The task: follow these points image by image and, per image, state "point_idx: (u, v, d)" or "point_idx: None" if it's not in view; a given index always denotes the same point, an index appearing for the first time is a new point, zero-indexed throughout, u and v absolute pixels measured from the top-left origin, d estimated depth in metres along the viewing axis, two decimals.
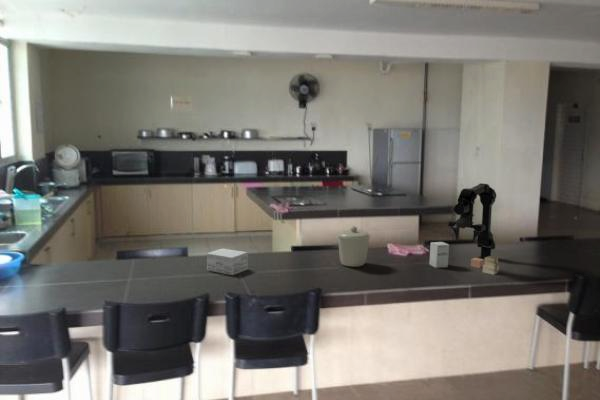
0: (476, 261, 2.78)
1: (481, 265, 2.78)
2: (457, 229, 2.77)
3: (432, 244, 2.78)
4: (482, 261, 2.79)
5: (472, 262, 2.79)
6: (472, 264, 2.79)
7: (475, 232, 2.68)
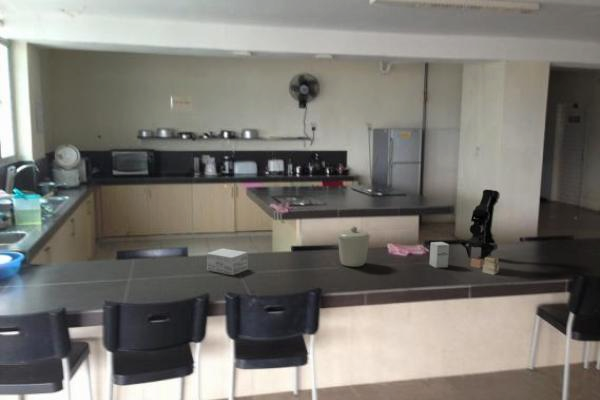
0: (476, 261, 2.78)
1: (481, 265, 2.78)
2: (469, 247, 2.82)
3: (432, 244, 2.78)
4: (482, 261, 2.79)
5: (472, 262, 2.79)
6: (472, 264, 2.79)
7: (487, 251, 2.73)
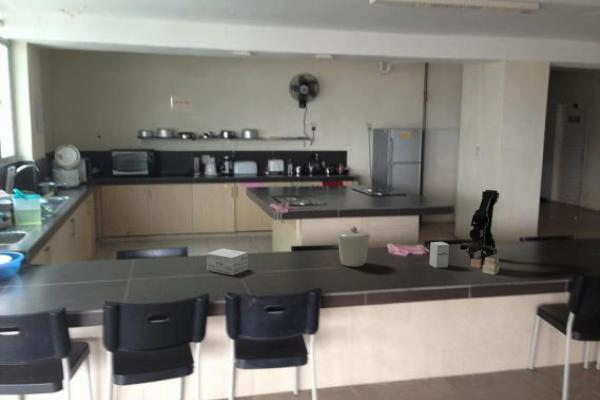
0: (476, 261, 2.78)
1: (481, 265, 2.78)
2: (472, 253, 2.81)
3: (432, 244, 2.78)
4: None
5: (472, 262, 2.79)
6: (472, 264, 2.79)
7: (483, 255, 2.75)
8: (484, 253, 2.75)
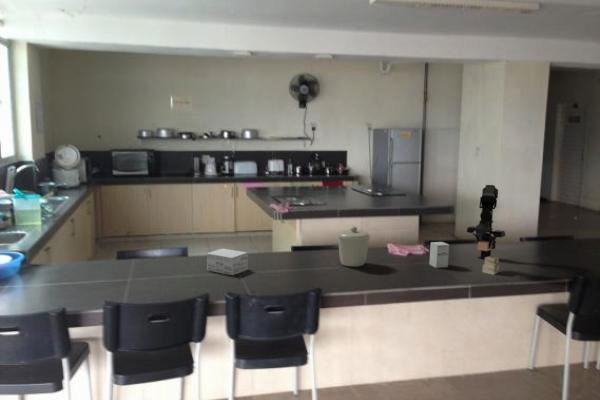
0: (483, 244, 2.70)
1: (488, 248, 2.71)
2: (479, 236, 2.74)
3: (432, 244, 2.78)
4: None
5: (479, 245, 2.72)
6: (479, 247, 2.72)
7: (491, 238, 2.67)
8: (492, 236, 2.68)
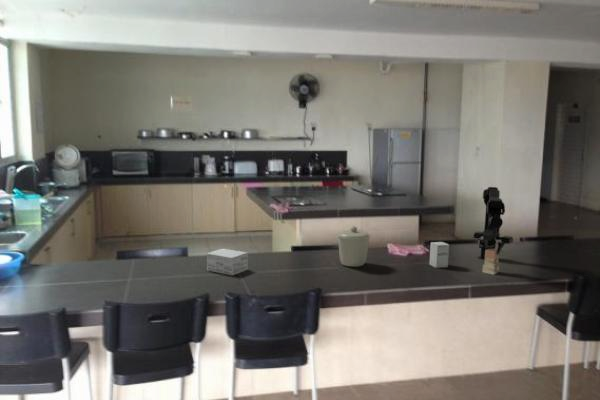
0: (490, 252, 2.65)
1: (496, 256, 2.66)
2: (485, 241, 2.69)
3: (432, 244, 2.78)
4: None
5: (486, 253, 2.67)
6: (486, 255, 2.67)
7: (500, 244, 2.62)
8: (500, 242, 2.62)
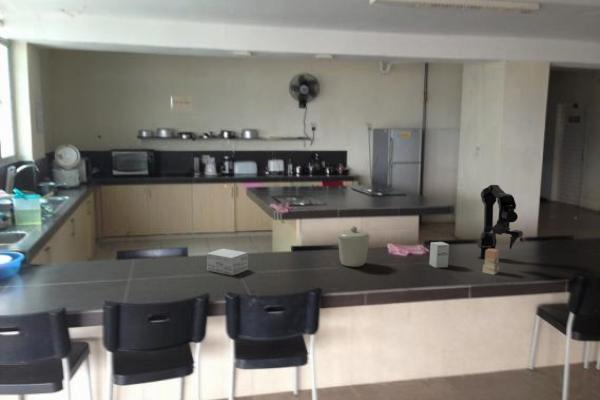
0: (491, 252, 2.65)
1: (496, 256, 2.66)
2: (493, 235, 2.75)
3: (432, 244, 2.78)
4: (497, 252, 2.66)
5: (486, 253, 2.67)
6: (486, 255, 2.67)
7: (512, 238, 2.66)
8: None
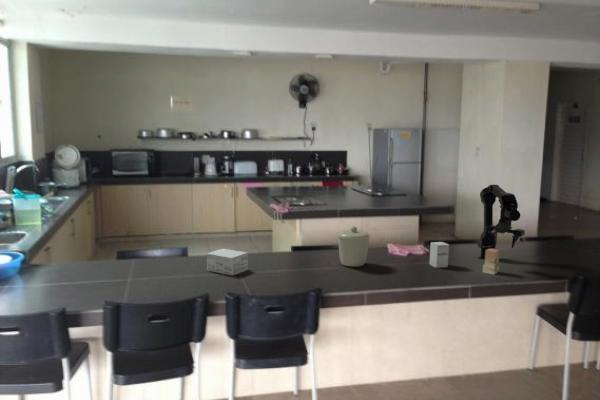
0: (491, 252, 2.65)
1: (496, 256, 2.66)
2: (495, 234, 2.76)
3: (432, 244, 2.78)
4: (497, 252, 2.66)
5: (487, 253, 2.67)
6: (487, 255, 2.67)
7: (514, 237, 2.66)
8: None
